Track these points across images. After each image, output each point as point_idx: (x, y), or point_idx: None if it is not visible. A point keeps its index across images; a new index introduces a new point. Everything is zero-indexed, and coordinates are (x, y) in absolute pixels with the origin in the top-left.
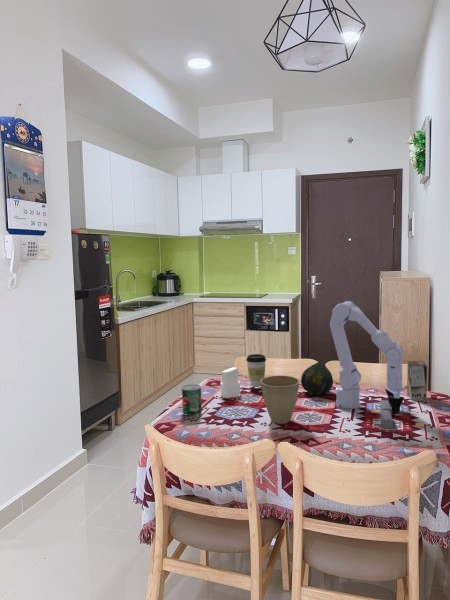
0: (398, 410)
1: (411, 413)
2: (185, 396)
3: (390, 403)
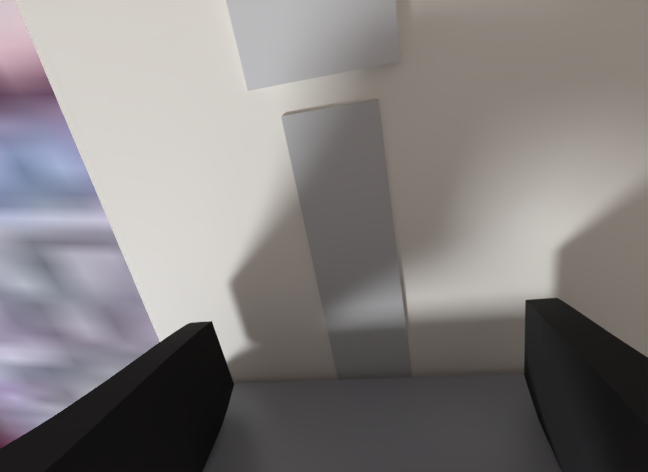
0: (612, 349)
1: (355, 47)
2: None
3: (206, 432)
